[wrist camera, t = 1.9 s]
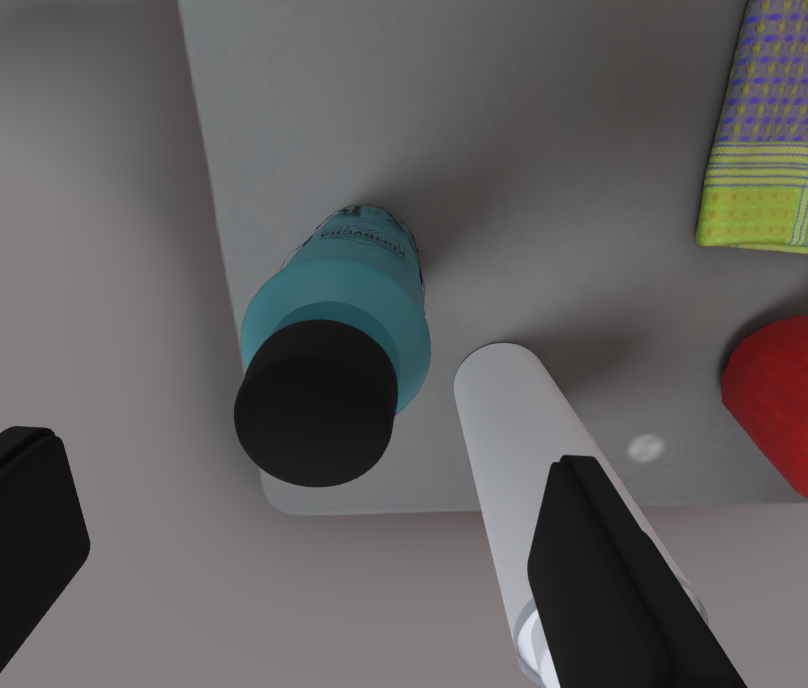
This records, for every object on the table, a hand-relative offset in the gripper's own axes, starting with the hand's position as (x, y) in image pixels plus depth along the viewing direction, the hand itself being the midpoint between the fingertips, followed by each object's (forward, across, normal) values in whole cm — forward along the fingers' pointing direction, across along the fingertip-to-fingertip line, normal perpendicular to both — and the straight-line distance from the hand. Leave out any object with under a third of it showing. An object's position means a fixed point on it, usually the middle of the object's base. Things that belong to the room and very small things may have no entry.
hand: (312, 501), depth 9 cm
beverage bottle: (+22, 0, 0) cm, 22 cm away
